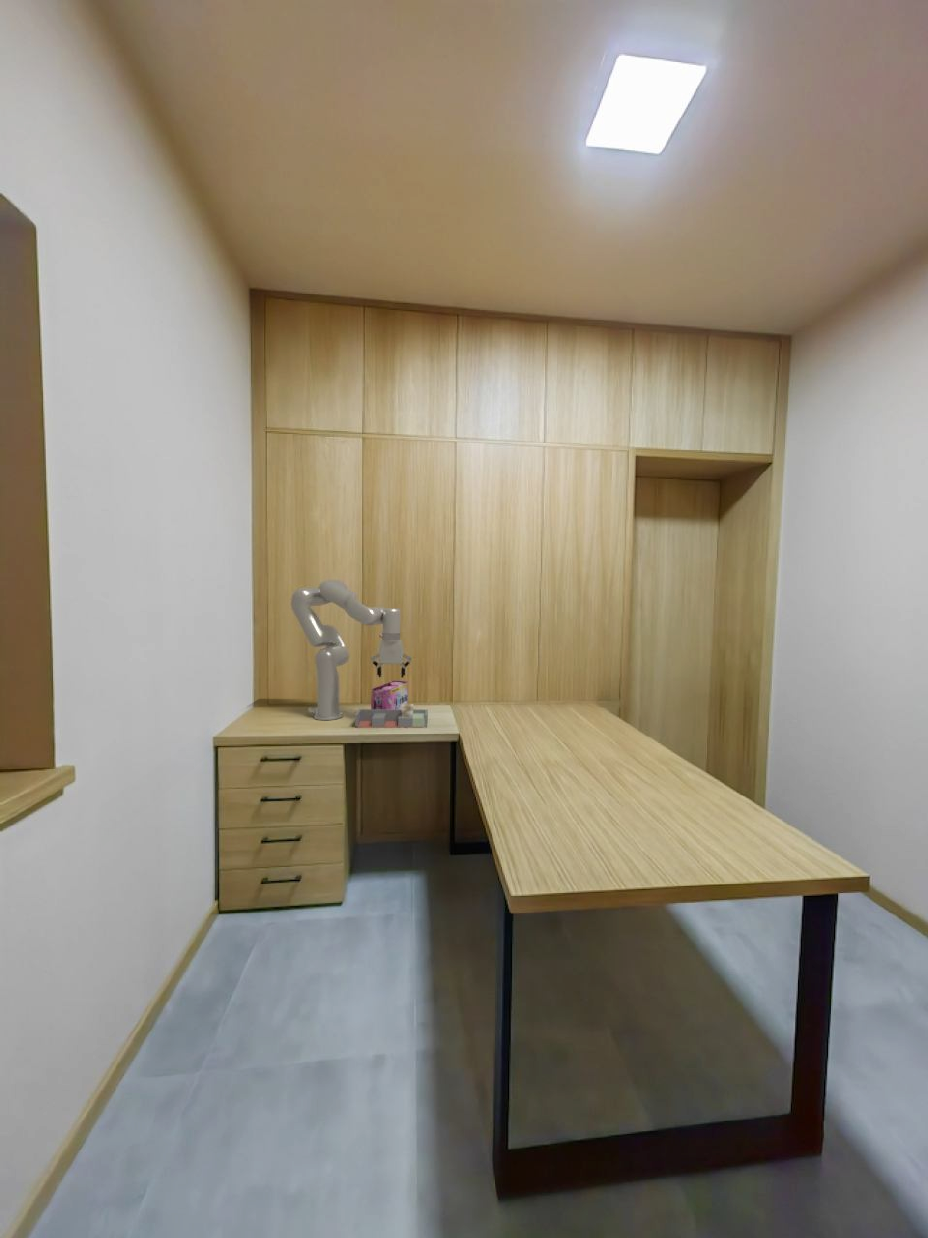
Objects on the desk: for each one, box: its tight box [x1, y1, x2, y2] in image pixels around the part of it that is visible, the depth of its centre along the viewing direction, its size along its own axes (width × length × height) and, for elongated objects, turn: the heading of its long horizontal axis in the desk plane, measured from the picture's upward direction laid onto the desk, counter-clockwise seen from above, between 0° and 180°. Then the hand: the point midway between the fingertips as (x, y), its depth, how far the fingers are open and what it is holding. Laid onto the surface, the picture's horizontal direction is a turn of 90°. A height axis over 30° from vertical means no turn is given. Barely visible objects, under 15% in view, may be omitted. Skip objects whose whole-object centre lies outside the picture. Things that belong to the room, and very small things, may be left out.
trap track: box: [354, 708, 429, 729], centre depth 210 cm, size 30×9×6 cm, turn 92°
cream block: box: [402, 703, 414, 717], centre depth 210 cm, size 4×4×4 cm
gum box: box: [370, 680, 409, 709], centre depth 227 cm, size 24×8×14 cm, turn 161°
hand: (391, 677), depth 209 cm, fingers open, 9 cm apart
